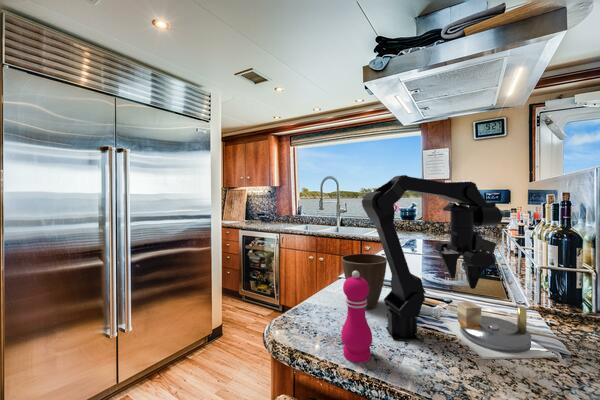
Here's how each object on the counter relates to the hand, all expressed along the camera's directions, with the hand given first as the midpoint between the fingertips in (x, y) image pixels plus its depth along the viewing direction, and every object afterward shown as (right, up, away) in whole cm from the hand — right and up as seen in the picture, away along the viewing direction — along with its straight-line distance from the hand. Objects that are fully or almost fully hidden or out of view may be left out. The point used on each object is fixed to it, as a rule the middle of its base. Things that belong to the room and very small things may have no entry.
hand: (462, 282), depth 78 cm
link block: (0, -10, -3) cm, 10 cm away
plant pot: (-23, -13, +17) cm, 32 cm away
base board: (+5, -13, -6) cm, 15 cm away
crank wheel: (+5, -13, -6) cm, 15 cm away
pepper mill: (-32, -14, -12) cm, 37 cm away
